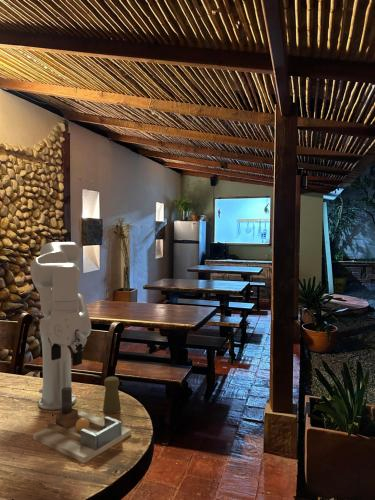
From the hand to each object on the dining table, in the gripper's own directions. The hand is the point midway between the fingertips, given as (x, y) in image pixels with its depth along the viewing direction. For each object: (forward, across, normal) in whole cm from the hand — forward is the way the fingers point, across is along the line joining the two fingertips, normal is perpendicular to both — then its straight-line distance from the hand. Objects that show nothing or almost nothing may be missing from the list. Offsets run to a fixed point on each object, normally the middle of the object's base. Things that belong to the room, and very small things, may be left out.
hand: (66, 361), depth 119 cm
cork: (+21, +1, +18) cm, 28 cm away
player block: (+19, 0, 0) cm, 19 cm away
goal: (+20, +15, 0) cm, 25 cm away
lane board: (+21, +7, 0) cm, 22 cm away
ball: (+18, +7, 0) cm, 19 cm away
